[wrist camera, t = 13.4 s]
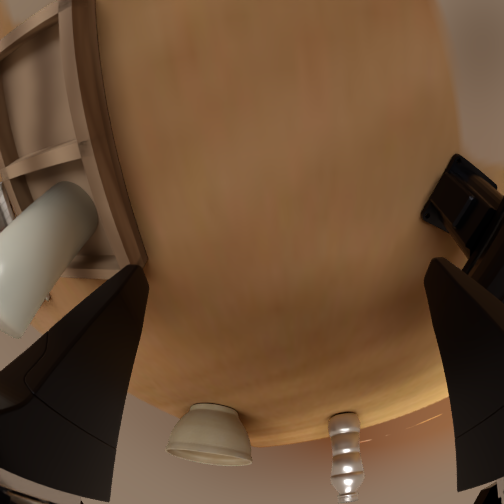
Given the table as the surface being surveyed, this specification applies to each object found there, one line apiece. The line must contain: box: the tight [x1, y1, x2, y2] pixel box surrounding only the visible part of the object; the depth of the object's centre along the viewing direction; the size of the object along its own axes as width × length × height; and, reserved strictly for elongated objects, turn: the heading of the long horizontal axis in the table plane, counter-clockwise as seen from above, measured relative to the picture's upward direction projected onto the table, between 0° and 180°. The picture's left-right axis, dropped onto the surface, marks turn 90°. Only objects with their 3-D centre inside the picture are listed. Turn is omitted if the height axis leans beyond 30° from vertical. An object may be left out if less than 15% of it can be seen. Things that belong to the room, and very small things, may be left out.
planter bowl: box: [165, 403, 252, 466], centre depth 45 cm, size 16×16×11 cm
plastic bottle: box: [328, 413, 365, 503], centre depth 41 cm, size 6×7×20 cm
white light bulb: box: [0, 181, 98, 339], centre depth 16 cm, size 6×6×12 cm
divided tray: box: [0, 0, 148, 279], centre depth 17 cm, size 12×24×3 cm, turn 4°
